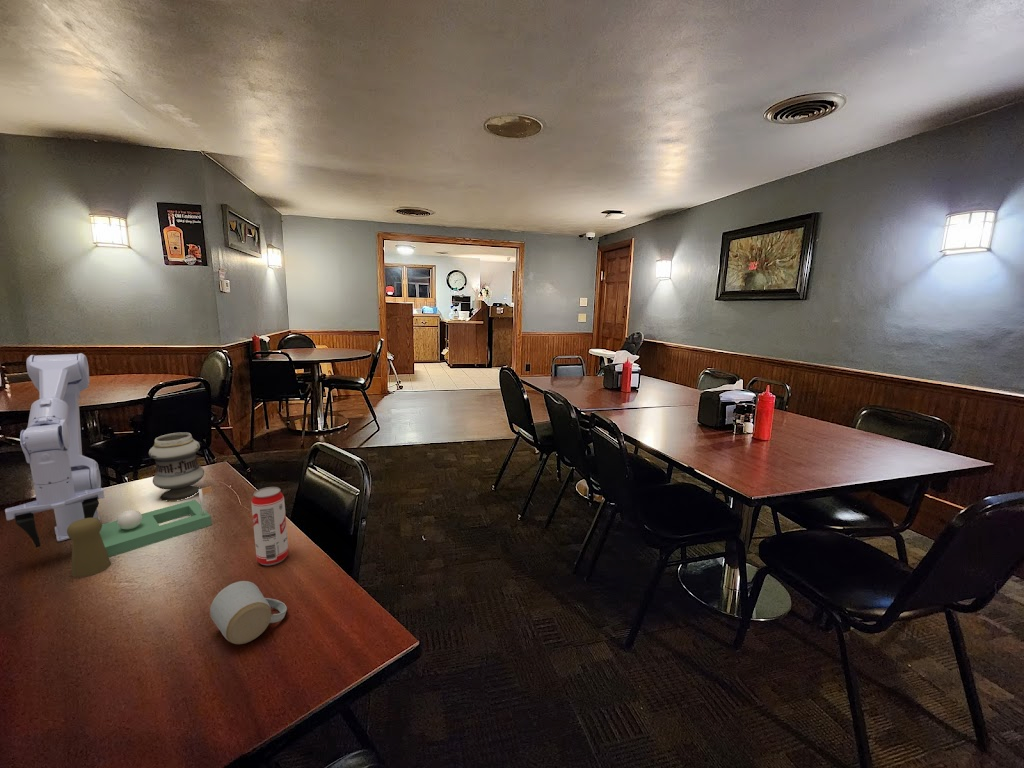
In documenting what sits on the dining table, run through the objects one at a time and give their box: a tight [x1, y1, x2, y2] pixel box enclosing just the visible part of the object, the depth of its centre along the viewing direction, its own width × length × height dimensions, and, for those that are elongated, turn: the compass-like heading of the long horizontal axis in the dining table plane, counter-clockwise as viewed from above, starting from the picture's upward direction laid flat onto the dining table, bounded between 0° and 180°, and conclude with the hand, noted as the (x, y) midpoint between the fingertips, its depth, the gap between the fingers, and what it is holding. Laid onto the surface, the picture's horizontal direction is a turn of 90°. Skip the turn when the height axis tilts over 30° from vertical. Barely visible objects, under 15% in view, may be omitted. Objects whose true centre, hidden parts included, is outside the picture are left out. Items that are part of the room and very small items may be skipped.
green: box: [100, 499, 213, 558], centre depth 106 cm, size 14×21×2 cm, turn 139°
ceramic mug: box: [209, 580, 288, 645], centre depth 75 cm, size 11×8×8 cm
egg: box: [116, 509, 142, 530], centre depth 103 cm, size 4×4×4 cm
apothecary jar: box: [148, 431, 205, 502], centre depth 126 cm, size 12×12×18 cm
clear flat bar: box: [198, 486, 213, 516], centre depth 110 cm, size 1×3×7 cm, turn 139°
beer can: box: [250, 486, 290, 566], centre depth 94 cm, size 6×6×16 cm
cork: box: [67, 518, 112, 578], centre depth 90 cm, size 6×6×11 cm
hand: (63, 538), depth 94 cm, fingers open, 7 cm apart
